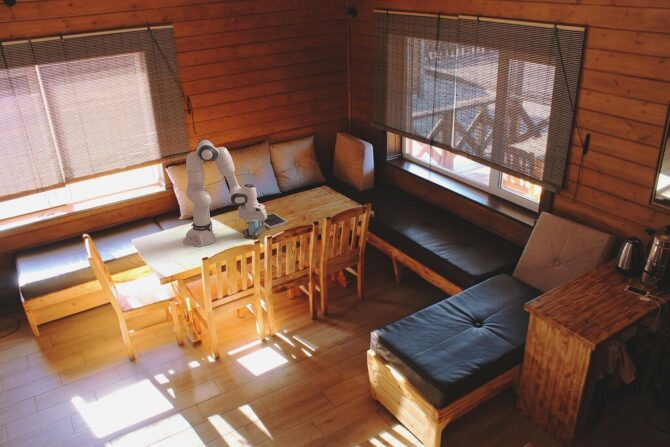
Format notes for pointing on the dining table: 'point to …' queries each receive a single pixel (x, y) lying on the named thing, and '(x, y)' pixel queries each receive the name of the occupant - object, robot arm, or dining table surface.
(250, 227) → the book
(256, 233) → the book rack
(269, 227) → the picture frame
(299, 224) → the dining table surface
